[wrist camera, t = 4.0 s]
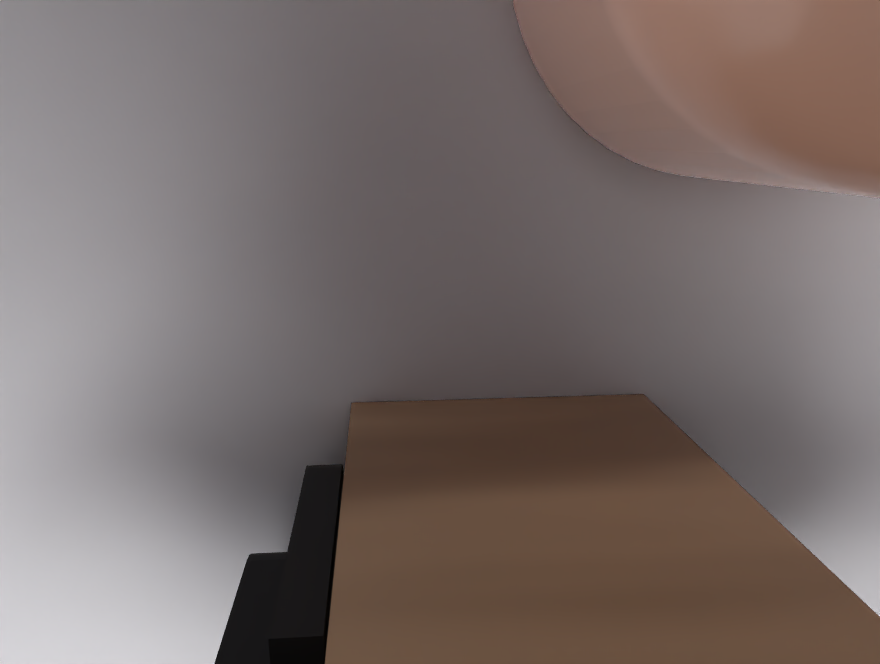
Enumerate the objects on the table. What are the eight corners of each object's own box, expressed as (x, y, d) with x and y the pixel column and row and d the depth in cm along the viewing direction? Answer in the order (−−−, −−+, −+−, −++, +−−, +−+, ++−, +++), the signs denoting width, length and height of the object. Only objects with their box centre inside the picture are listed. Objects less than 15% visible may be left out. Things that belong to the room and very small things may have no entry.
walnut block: (351, 402, 11) (320, 704, 5) (643, 393, 11) (931, 665, 5) (359, 658, 12) (342, 1144, 6) (624, 643, 12) (844, 1087, 6)
